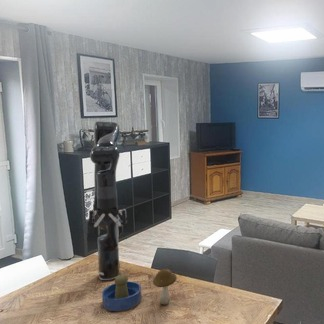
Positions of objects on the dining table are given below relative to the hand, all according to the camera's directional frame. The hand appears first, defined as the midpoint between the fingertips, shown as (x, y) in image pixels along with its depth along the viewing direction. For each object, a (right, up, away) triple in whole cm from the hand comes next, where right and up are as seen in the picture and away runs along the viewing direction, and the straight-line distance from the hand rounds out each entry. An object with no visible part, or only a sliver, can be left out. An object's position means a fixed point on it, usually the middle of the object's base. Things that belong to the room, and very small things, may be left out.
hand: (109, 234), depth 138 cm
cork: (+4, -29, +4) cm, 29 cm away
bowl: (+4, -29, +4) cm, 30 cm away
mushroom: (+22, -30, +4) cm, 37 cm away
